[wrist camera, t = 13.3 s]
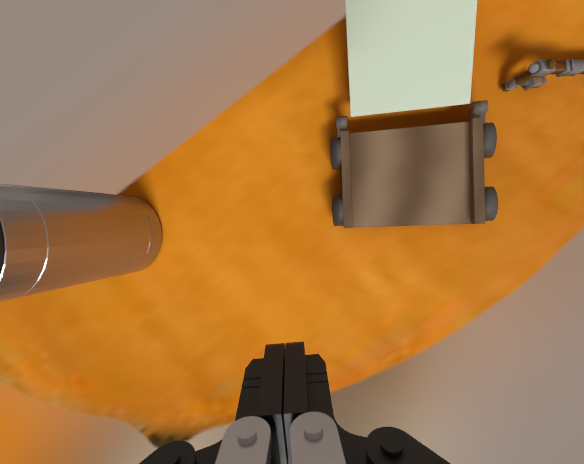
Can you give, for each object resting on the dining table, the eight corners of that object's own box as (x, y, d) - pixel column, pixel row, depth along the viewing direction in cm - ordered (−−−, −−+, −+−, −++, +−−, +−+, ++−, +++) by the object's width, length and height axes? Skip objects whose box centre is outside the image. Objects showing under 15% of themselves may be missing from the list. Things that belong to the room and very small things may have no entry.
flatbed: (336, 227, 34) (333, 228, 31) (332, 125, 34) (329, 116, 31) (486, 222, 31) (498, 222, 28) (483, 109, 31) (495, 97, 28)
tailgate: (350, 116, 30) (343, -42, 26) (351, 116, 31) (344, -37, 27) (469, 103, 28) (482, -73, 24) (466, 103, 29) (477, -67, 25)
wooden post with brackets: (492, 78, 30) (538, 50, 25) (566, 74, 31) (621, 47, 27) (494, 98, 30) (541, 74, 25) (568, 93, 31) (624, 70, 27)
